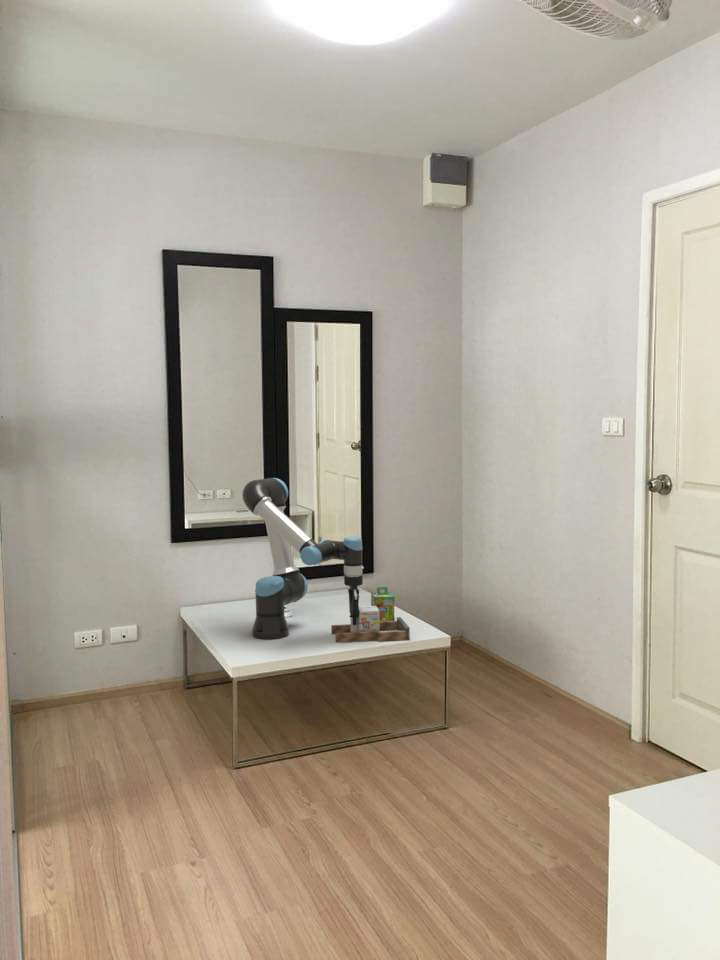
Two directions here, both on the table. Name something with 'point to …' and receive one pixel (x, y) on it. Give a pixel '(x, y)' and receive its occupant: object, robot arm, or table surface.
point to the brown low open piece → (373, 632)
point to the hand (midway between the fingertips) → (354, 632)
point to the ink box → (368, 619)
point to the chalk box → (383, 604)
